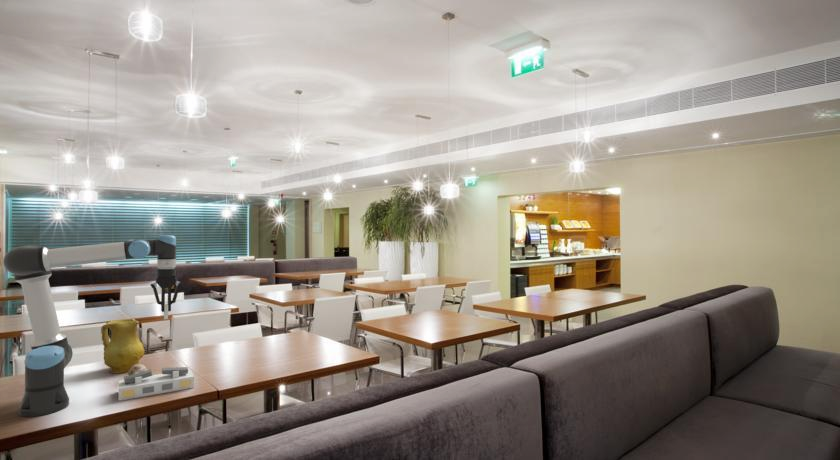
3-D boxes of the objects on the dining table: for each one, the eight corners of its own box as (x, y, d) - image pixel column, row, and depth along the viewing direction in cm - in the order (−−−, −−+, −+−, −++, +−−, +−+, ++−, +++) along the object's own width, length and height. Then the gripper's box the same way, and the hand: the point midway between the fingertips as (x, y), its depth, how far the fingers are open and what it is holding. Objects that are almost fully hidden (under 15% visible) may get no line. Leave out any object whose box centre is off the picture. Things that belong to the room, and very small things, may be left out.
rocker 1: (124, 384, 184) (124, 380, 184) (124, 380, 189) (124, 376, 189) (152, 376, 190) (151, 372, 190) (151, 372, 194) (150, 368, 194)
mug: (145, 383, 202) (134, 365, 201) (133, 389, 206) (122, 371, 205) (159, 374, 209) (148, 356, 208) (147, 380, 213) (136, 363, 212)
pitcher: (113, 376, 208) (114, 323, 210) (95, 371, 218) (96, 321, 219) (150, 368, 223) (151, 318, 224) (132, 363, 233) (133, 316, 234)
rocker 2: (162, 374, 192) (163, 370, 192) (161, 371, 197) (162, 367, 197) (187, 373, 198) (188, 369, 198) (186, 370, 202) (186, 366, 202)
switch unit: (118, 401, 180) (118, 382, 180) (118, 391, 190) (118, 373, 190) (194, 387, 196) (194, 370, 196) (190, 379, 206) (190, 363, 206)
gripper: (150, 269, 197) (150, 321, 197) (183, 268, 204) (182, 318, 204) (149, 268, 203) (149, 318, 203) (181, 267, 211) (180, 315, 211)
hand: (166, 318), depth 204 cm, fingers closed
